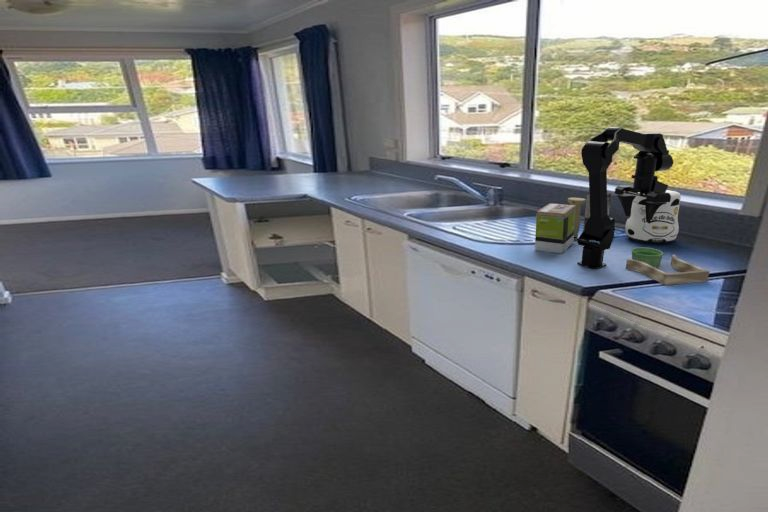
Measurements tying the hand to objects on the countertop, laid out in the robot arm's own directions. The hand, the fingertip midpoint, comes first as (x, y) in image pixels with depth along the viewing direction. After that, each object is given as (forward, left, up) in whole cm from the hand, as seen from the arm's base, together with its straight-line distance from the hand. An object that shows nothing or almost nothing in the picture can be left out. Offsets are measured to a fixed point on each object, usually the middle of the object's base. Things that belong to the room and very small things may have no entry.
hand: (637, 219), depth 160 cm
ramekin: (-6, -9, -13) cm, 17 cm away
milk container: (+20, +7, -13) cm, 24 cm away
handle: (+1, +26, -12) cm, 29 cm away
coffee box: (+11, +24, -13) cm, 29 cm away
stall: (-10, -18, -12) cm, 24 cm away
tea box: (-15, +21, -13) cm, 29 cm away
